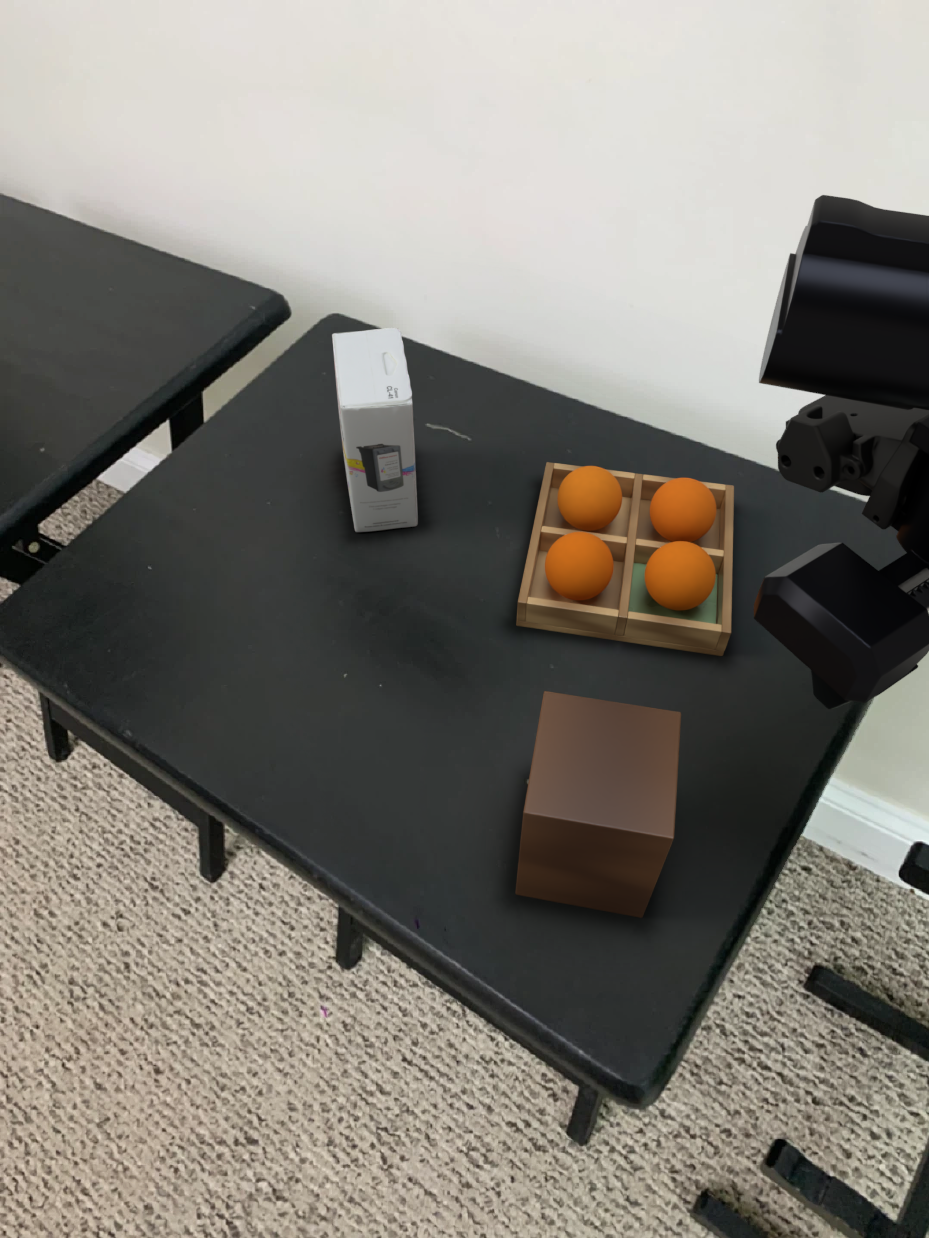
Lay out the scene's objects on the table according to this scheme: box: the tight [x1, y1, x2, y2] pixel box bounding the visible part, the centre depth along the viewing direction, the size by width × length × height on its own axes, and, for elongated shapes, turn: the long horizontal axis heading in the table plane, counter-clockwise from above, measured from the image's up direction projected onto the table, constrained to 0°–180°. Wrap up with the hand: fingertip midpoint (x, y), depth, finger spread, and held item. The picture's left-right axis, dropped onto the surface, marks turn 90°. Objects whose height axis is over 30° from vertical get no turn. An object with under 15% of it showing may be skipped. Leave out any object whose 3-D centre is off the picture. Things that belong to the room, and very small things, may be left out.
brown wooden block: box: [515, 690, 682, 919], centre depth 49 cm, size 7×7×10 cm
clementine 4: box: [645, 541, 716, 610], centre depth 61 cm, size 5×5×5 cm
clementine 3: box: [650, 477, 716, 542], centre depth 65 cm, size 5×5×5 cm
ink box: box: [331, 327, 419, 533], centre depth 66 cm, size 9×5×12 cm, turn 9°
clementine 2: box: [545, 532, 614, 600], centre depth 62 cm, size 5×5×5 cm
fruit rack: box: [515, 461, 735, 657], centre depth 65 cm, size 14×14×3 cm
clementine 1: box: [557, 465, 622, 531], centre depth 66 cm, size 5×5×5 cm
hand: (886, 658), depth 47 cm, fingers open, 9 cm apart
